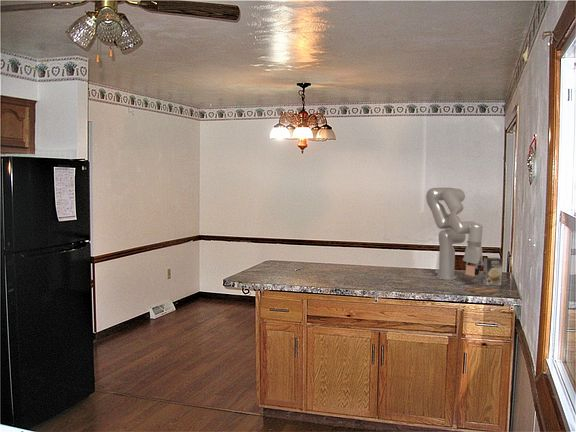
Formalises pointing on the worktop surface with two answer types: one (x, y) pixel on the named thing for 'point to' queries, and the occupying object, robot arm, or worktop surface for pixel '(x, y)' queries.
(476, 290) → the walnut board
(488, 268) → the coffee box
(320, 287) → the worktop surface
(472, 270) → the cube
